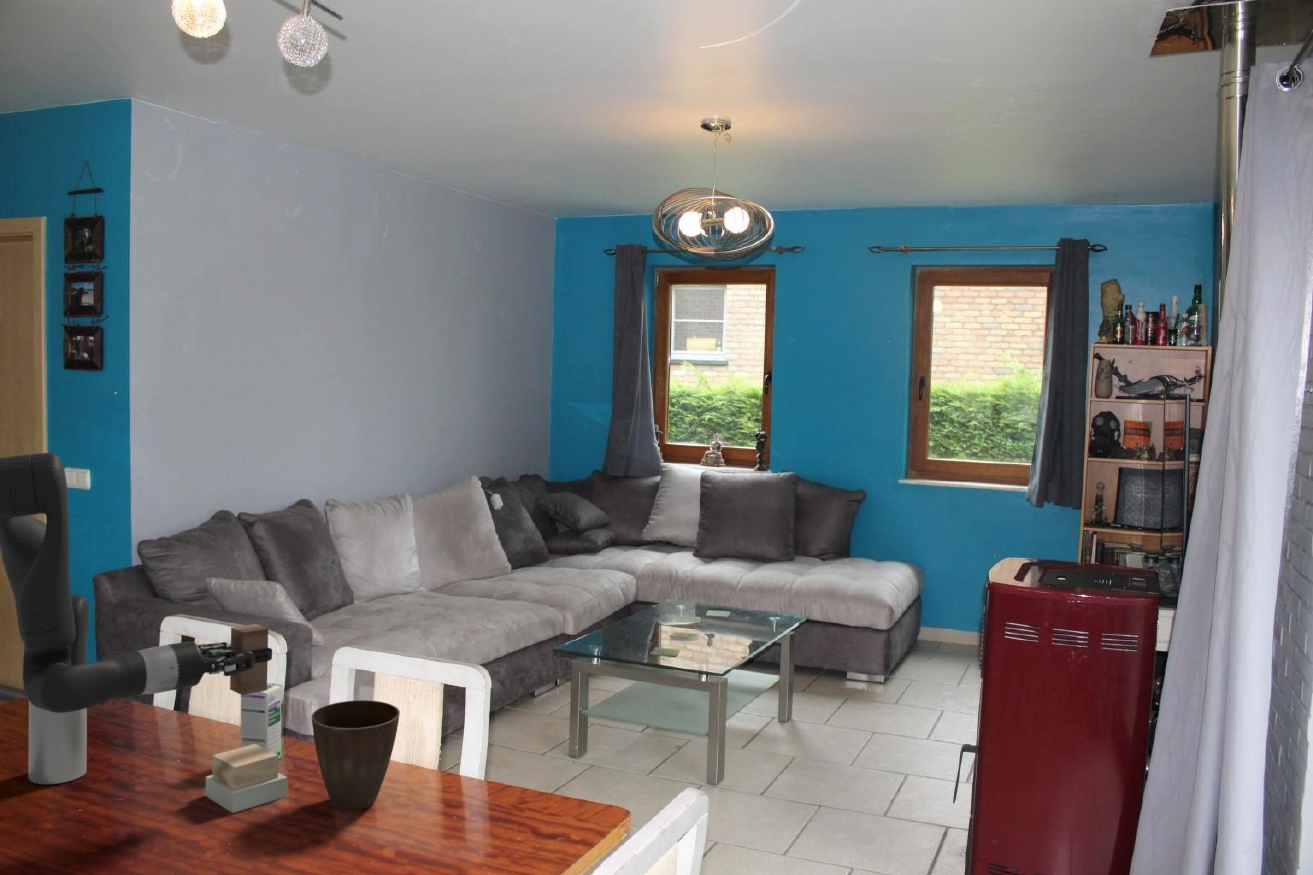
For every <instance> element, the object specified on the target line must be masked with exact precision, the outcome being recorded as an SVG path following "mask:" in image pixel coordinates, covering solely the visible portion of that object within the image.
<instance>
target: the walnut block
mask: <svg viewBox="0 0 1313 875" xmlns="http://www.w3.org/2000/svg"><path fill="white" fill-rule="evenodd" d="M230 644H231V649H236V650H237V651H238V652H241V651H248V650H250V651H251V650H257V649H263V648H269V628H267V627H265V626H262V625H260V624H257V623H252V624H248V625H239V626H234V627H230ZM231 658H232V654H231ZM244 662H245V660H244ZM268 662H269V661H265V662H260V663H254V668H253V669H250V670H247V671H243V672H240V673H237V674H233V675H230V676H229V679H230V681H229V689H230V690H231V691H232V692H234V693H236V694H238V695H240V696H241V695H246V694H251V693H256V692H261V691H266V690H267V683H268Z"/></svg>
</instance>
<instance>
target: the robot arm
mask: <svg viewBox="0 0 1313 875" xmlns="http://www.w3.org/2000/svg"><path fill="white" fill-rule="evenodd" d="M67 483H68V482H67V476H66V472H65V467H64V464H63V462H62V460H61V458H60V457H59V455H57V453H54V452H42V453H41V452H40V453H32V454H22V455H21V454H19V455H12V456H3V457H0V553H1V557H2V563H3V566H4V571H5V573H6V577H7V579H8V582H9V586H10V588H11V591H12V595H13V597H14V598H13V599H14V602H15V609H16V611H15V612H16V618H17V626H18V631H19V636H20V639H21V641H22V642H23V644H24V646H23V647H24V649H23V657H22V658H23V660H22V661H23V663H22V664H23V665H22V682H23V689H24V694H25V696H26V698H27V700H28V778H29V779H28V778H27V779H28V781H29V780H30V781H31V782H30V781H29V782H30V783H32V782H33V784H36V783H37V785H57V784H63V783H67V782H71V781H74V780H76V779H79V778H82V776H84V775H85V774H86V773H87V762H88V761H87V754H88V753H87V750H88V748H87V746H88V745H87V744H88V743H87V742H88V739H87V738H88V734H87V733H88V727H87V726H88V725H87V724H88V710H87V709H89V708H91V707H95V706H98V705H100V704H103V703H106V702H109V701H112V700H113V701H114V700H120V699H121V700H122V699H126V698H130V697H131V698H132V697H136V696H137V697H139V696H141V695H155V694H160V693H165V692H166V693H167V692H169V691H170V692H171V691H175V690H181V689H185V688H190V687H191V688H192V687H195V686H197V685H198V684H199V683H200V682H201V681H202V678H203V676H204V675H205V674H209V675H219V674H221V673H223V676H224V677H230V675H233V674H237V673H240V672H243V671H247V670H250V669H253V668H254V663H260V662H265V661H268V662H269V661H272V659H273V649H272V648H271V647H268V648H263V649H257V650H251V651H250V650H248V651H241V652H238V651H237V650H236V649H231V643H228V642H225V641H224V642H216V643H215V642H213V643H203V644H197V643H196V642H194V641H189V640H188V641H182V642H178V643H177V642H176V643H171V644H165V645H159V646H152V647H148V648H144V649H141V650H137V651H132V652H131V651H130V652H126V653H119V654H114V655H109V656H105V657H104V658H102V659H100V660H98V661H93V662H88V639H89V638H88V636H89V625H90V607H89V602H88V599H87V598H86V596H84V595H82V594H72V593H71V582H70V581H71V579H70V567H71V565H70V550H71V549H70V548H71V547H70V516H69V513H70V512H69V494H68V484H67ZM39 514H44V515H45V517H46V518H45V519H46V523H45V522H43V521H42V520H41V519H40V520H39V519H37V518H35V517H33V516H32V515H39ZM231 654H232V658H231ZM244 660H245V662H244Z"/></svg>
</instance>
